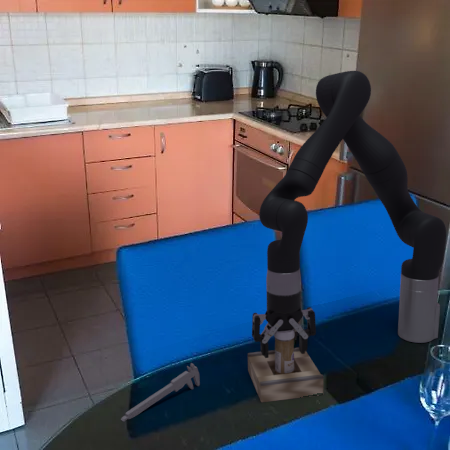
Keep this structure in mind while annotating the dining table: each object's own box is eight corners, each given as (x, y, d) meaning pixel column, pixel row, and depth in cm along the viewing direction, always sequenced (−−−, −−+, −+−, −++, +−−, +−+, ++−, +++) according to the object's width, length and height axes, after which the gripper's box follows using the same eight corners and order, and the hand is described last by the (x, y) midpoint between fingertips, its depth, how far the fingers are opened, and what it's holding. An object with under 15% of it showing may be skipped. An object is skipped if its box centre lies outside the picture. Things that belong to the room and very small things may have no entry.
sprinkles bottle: (294, 387, 134) (294, 333, 130) (274, 386, 134) (273, 332, 131) (294, 377, 138) (294, 324, 134) (274, 376, 138) (274, 323, 135)
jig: (304, 363, 144) (304, 346, 142) (323, 394, 130) (323, 376, 129) (248, 370, 142) (247, 353, 140) (261, 402, 128) (260, 383, 127)
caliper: (197, 385, 137) (195, 360, 135) (200, 386, 136) (198, 362, 134) (120, 421, 124) (118, 394, 122) (123, 423, 123) (121, 396, 121)
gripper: (309, 278, 134) (309, 343, 139) (248, 284, 132) (249, 350, 137) (320, 290, 127) (319, 358, 132) (255, 297, 125) (256, 365, 129)
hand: (283, 354), depth 134 cm, fingers open, 8 cm apart
